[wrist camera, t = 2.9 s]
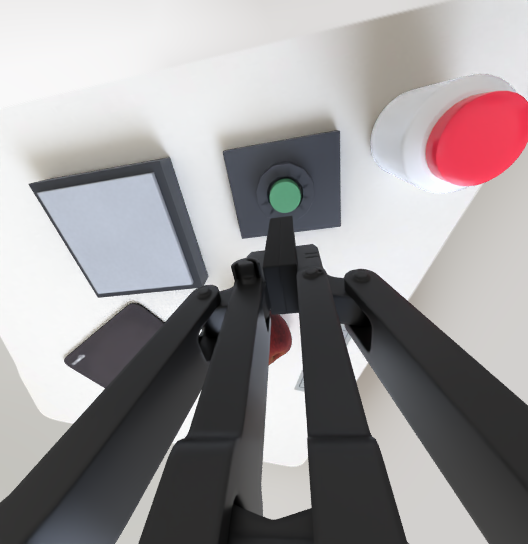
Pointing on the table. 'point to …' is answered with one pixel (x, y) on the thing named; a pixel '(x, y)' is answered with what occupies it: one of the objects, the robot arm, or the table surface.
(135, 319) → the mouse pad
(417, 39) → the table surface
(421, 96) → the pill bottle
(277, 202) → the green button
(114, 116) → the table surface
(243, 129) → the table surface
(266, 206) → the button base
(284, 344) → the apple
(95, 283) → the scale
